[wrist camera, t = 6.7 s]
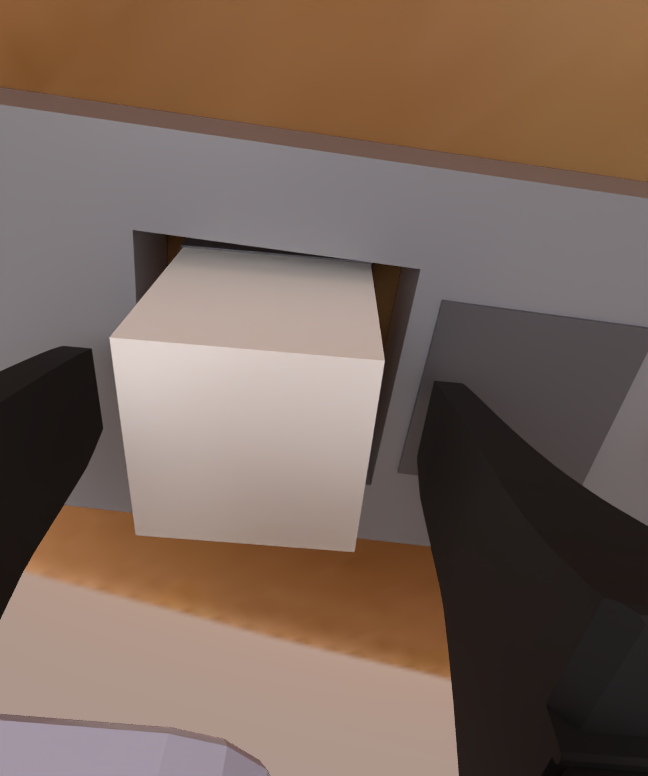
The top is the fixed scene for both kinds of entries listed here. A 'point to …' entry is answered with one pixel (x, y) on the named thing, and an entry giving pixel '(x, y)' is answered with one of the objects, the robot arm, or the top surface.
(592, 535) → the robot arm
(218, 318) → the plug
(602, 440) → the grey slotted holder
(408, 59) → the top surface
